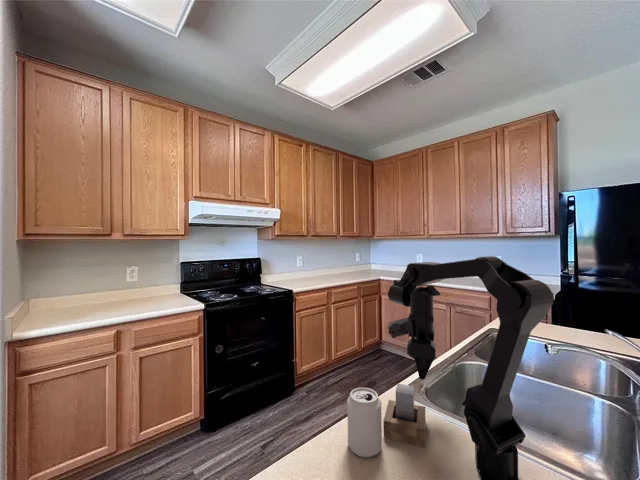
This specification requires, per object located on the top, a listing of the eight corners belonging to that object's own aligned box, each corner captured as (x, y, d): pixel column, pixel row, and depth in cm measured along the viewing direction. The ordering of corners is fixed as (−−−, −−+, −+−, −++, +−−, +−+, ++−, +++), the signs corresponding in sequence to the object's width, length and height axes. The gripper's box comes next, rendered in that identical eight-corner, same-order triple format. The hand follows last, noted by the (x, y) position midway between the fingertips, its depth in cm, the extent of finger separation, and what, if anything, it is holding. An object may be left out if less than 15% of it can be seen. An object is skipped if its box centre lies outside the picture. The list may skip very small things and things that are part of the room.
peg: (414, 426, 70) (413, 386, 70) (413, 437, 66) (413, 394, 66) (397, 423, 72) (397, 383, 71) (396, 433, 68) (395, 391, 68)
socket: (425, 422, 71) (425, 406, 71) (424, 447, 63) (424, 429, 63) (389, 414, 75) (388, 399, 75) (383, 437, 66) (383, 420, 66)
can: (382, 462, 59) (381, 405, 59) (346, 457, 61) (345, 401, 60) (381, 437, 66) (380, 386, 66) (349, 433, 68) (348, 383, 68)
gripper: (393, 301, 85) (394, 352, 85) (384, 317, 68) (385, 382, 68) (433, 303, 81) (434, 357, 81) (435, 322, 64) (436, 391, 64)
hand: (422, 370), depth 74 cm, fingers open, 9 cm apart
